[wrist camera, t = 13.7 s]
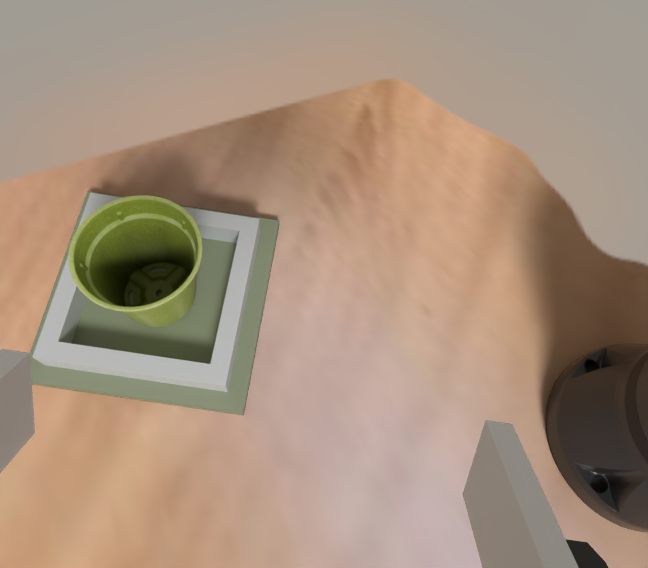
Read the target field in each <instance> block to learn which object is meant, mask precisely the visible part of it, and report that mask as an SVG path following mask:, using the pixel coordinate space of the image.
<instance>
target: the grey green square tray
mask: <svg viewBox="0 0 648 568" xmlns="http://www.w3.org/2000/svg"><path fill="white" fill-rule="evenodd" d="M120 198H124V197H123V196H116V195H110V194H103V193H97V192H90V191H88V192H87V195H86V197H85V200H84V203H83V206H82V209H81V211H80V214H79V217H78V220H77V223H76V225H75V228H74V231H73V234H72V237H71V239H70V242H69V245H68V248H67V251H66V253H65V256H64V259H63V262H62V265H61V268H60V270H59V273H58V276H57V279H56V282H55V284H54V287H53V290H52V293H51V296H50V298H49V301H48V304H47V307H46V310H45V312H44V315H43V318H42V321H41V324H40V326H39V329H38V332H37V335H36V338H35V340H34V343H33V346H32V349H31V352H30V365H31V380H32V384H33V385H40V386H47V387H53V388H60V389H67V390H74V391H81V392H88V393H95V394H101V395H108V396H115V397H122V398H129V399H136V400H142V401H149V402H156V403H163V404H170V405H177V406H184V407H190V408H197V409H204V410H211V411H218V412H225V413H231V414H238V415H244V411H245V406H246V400H247V395H248V390H249V384H250V379H251V374H252V368H253V363H254V358H255V352H256V347H257V342H258V336H259V331H260V325H261V320H262V315H263V309H264V304H265V299H266V293H267V288H268V283H269V277H270V272H271V267H272V261H273V256H274V251H275V245H276V240H277V235H278V229H279V220H273V219H266V218H260V217H253V216H247V215H240V214H234V213H227V212H220V211H214V210H207V209H201V208H194V207H188V206H181V205H179V206H181V207H182V208H183V209H184V210H186V211H187V212H188V213H189V214H190V215H191V216H192V218H193V219H194V221H195V222H196V224H197V226H198V228H199V231H200V233H201V237H202V244H203V253H202V260H201V264H200V267H199V269H198V272H197V274H196V276H195V288H196V294H195V300H194V303H193V305H192V307H191V308H190V310H189V311H188V312H187V313H186V314H185V315H184V316H183V317H182V318H181V319H180V320H179V321H178V322H176V323H174V324H172V325H169V326H165V327H148V326H144V325H142V324H140V323H138V322H136V321H135V320H133V319H132V318H130V317H129V316H128V315H126V314H125V313H123V312H119V311H114V310H110V309H106V308H104V307H102V306H100V305H98V304H96V303H94V302H93V301H91V300H90V299H89V298H87V297H86V296H85V295H84V294H83V293H82V292H81V291H80V290H79V288H78V287H77V286H76V284H75V282H74V280H73V278H72V276H71V273H70V269H69V261H68V257H69V248H70V244H71V241H72V238H73V236H74V234H75V232H76V230H77V229H78V227H79V226H80V225H81V223H82V222H83V221H84V220H85V219H86V218H87V217H88V216H89V215H90V214H92V213H93V212H94V211H95V210H97V209H98V208H100V207H102V206H103V205H105V204H107V203H110V202H111V201H114V200H117V199H120ZM166 270H167V269H165V268H155V269H152V270H151V271H150V272H151V273H154V272H160V271H161V272H163V271H166ZM156 294H157V296H160V295H162V291H160V290H158V291H157V292H156ZM133 295H134V291H131V293H130V295H129V298H130V304H131V305H134V301H133Z"/></svg>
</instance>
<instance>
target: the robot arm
mask: <svg viewBox="0 0 648 568" xmlns="http://www.w3.org/2000/svg"><path fill="white" fill-rule="evenodd" d="M546 424H547V434H548V440H549V444H550V448H551V451H552V454H553V457H554V459H555V462H556V464H557V466H558V468H559V470H560V472H561V474H562V475H563V477H564V479H565V480H566V482H567V483H568V485H569V486H570V487H571V489H572V490H573V491H574V492H575V493H576V495H577V496H578V497H579V498H580V499H581V500H582V501H583V502H584V503H585V504H586V505H587V506H589V507H590V508H591V509H592V510H594V511H595V512H596V513H598V514H599V515H601V516H602V517H604V518H605V519H607V520H609V521H611V522H613V523H615V524H617V525H619V526H622V527H625V528H628V529H631V530H635V531H640V532H648V344H617V345H611V346H607V347H603V348H600V349H597V350H595V351H593V352H591V353H589V354H587V355H585V356H583V357H581V358H579V359H578V360H576V361H574V362H573V363H572V364H570V365H569V366H568V367H567V368H566V369H565V370H564V371H563V372H562V374H561V375H560V376H559V378H558V379H557V381H556V383H555V385H554V386H553V389H552V391H551V394H550V397H549V401H548V406H547V415H546ZM34 433H35V427H34V411H33V396H32V380H31V365H30V353H26V352H19V351H13V350H6V349H2V350H1V351H0V473H1V472H2V470H3V469H4V468H5V467H6V466H7V465H8V463H9V462H10V461H11V460H12V459H13V458H14V456H15V455H16V454H17V453H18V452H19V450H20V449H21V448H22V447H23V446H24V445H25V443H26V442H27V441H28V440H29V439H30V438H31V436H32V435H33V434H34ZM463 497H464V501H465V505H466V508H467V512H468V516H469V519H470V523H471V527H472V530H473V534H474V538H475V541H476V545H477V549H478V552H479V556H480V560H481V563H482V567H483V568H608V566H607V564H606V562H605V561H604V560H603V559H602V558H601V557H600V556H599V555H598V554H597V553H596V552H595V550H594V549H593V548H592V547H591V546H590V545H589V544H588V543H587V542H580V541H573V540H566V539H565V537H564V535H563V533H562V531H561V529H560V526H559V524H558V522H557V520H556V518H555V516H554V514H553V511H552V509H551V507H550V505H549V503H548V501H547V498H546V496H545V494H544V492H543V490H542V488H541V486H540V483H539V481H538V479H537V477H536V475H535V473H534V470H533V468H532V466H531V464H530V462H529V460H528V457H527V455H526V453H525V451H524V449H523V447H522V445H521V442H520V440H519V438H518V436H517V434H516V432H515V429H514V427H513V425H512V424H509V423H502V422H495V421H488V420H486V421H485V424H484V427H483V431H482V434H481V437H480V440H479V443H478V447H477V450H476V453H475V456H474V459H473V463H472V466H471V469H470V472H469V475H468V479H467V482H466V485H465V488H464V491H463Z"/></svg>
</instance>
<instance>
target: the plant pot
mask: <svg viewBox="0 0 648 568" xmlns="http://www.w3.org/2000/svg"><path fill="white" fill-rule="evenodd" d="M202 253H203V244H202V237H201V233H200V231H199V228H198V226H197V224H196V222H195V221H194V219H193V218H192V216H191V215H190V214H189V213H188V212H187V211H186V210H184V209H183V208H182V207H181V206H179V205H178V204H176V203H174V202H172V201H170V200H167V199H164V198H161V197H157V196H149V195H138V196H129V197H124V198H120V199H117V200H114V201H111V202H110V203H107V204H105V205H103V206H102V207H100V208H98V209H97V210H95V211H94V212H93V213H92V214H90V215H89V216H88V217H87V218H86V219H85V220H84V221H83V222H82V223H81V225H80V226H79V227H78V229H77V230H76V232H75V234H74V236H73V238H72V241H71V244H70V248H69V257H68V261H69V269H70V273H71V276H72V278H73V280H74V282H75V284H76V286H77V287H78V288H79V290H80V291H81V292H82V293H83V294H84V295H85V296H86V297H87V298H89V299H90V300H91V301H93V302H94V303H96V304H98V305H100V306H102V307H104V308H106V309H110V310H114V311H119V312H123V313H125V314H126V315H128V316H129V317H130V318H132V319H133V320H135V321H136V322H138V323H140V324H142V325H144V326H148V327H165V326H169V325H172V324H174V323H176V322H178V321H179V320H180V319H181V318H182V317H183V316H184V315H185V314H186V313H187V312H188V311H189V310H190V308H191V307H192V305H193V303H194V300H195V294H196V288H195V276H196V274H197V272H198V269H199V267H200V264H201V260H202ZM155 268H165V269H167V270H166V271H163V272H161V271H160V272H154V273H151V272H150V271H151V270H152V269H155ZM158 290H160V291H162V295H160V296H157V294H156V292H157V291H158ZM131 291H134V295H133V301H134V305H131V304H130V298H129V295H130V293H131Z"/></svg>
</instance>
